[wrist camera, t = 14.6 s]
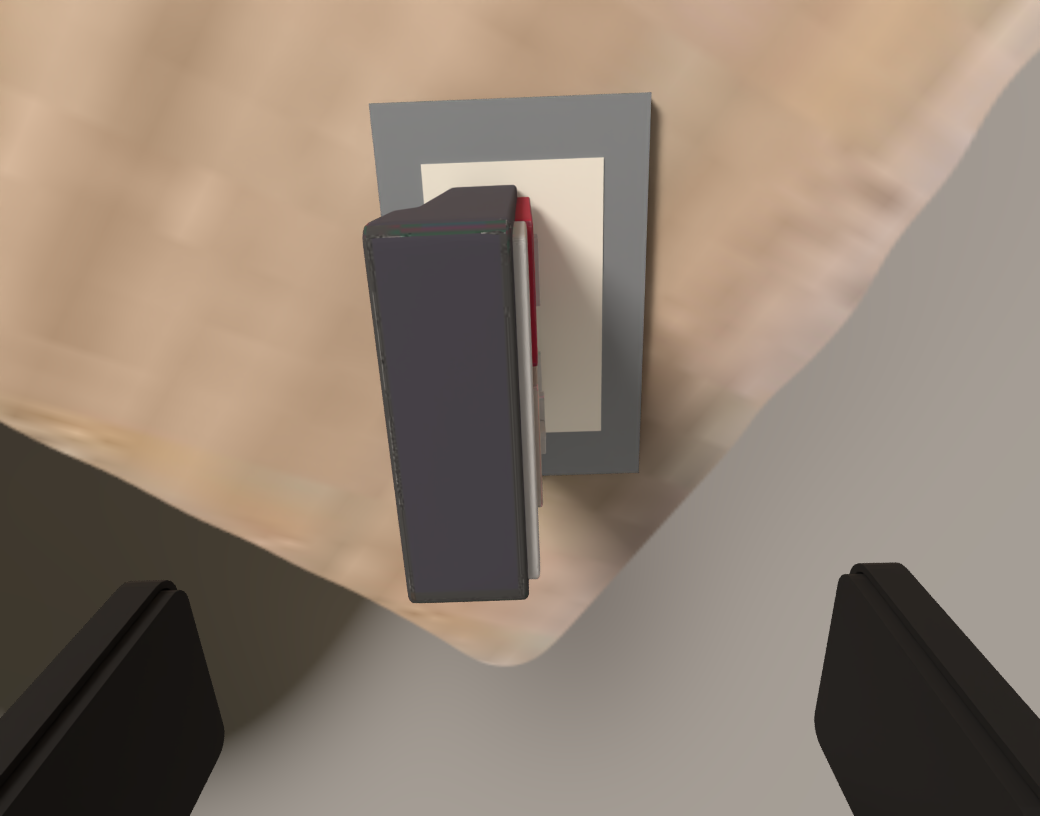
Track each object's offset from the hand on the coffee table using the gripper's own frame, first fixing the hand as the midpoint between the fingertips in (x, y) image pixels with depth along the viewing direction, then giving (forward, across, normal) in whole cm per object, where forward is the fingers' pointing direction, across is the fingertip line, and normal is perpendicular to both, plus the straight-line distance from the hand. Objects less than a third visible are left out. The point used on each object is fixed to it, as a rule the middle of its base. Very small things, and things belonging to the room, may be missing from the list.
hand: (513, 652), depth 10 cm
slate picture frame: (+24, 0, 0) cm, 24 cm away
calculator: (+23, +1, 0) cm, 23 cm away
